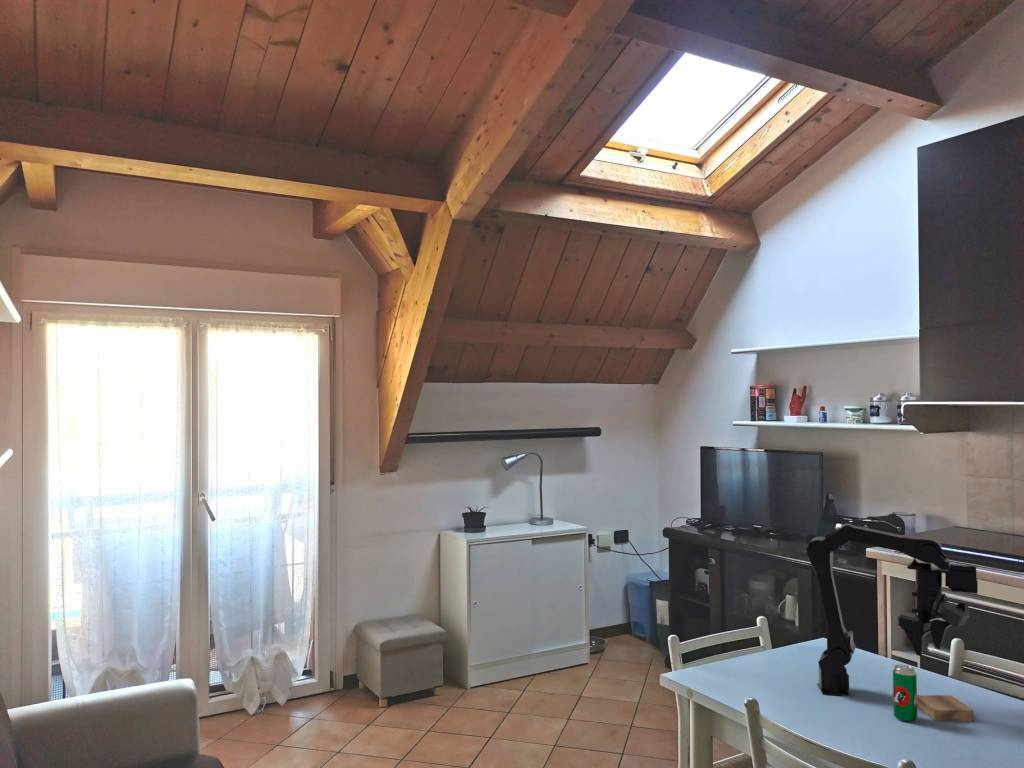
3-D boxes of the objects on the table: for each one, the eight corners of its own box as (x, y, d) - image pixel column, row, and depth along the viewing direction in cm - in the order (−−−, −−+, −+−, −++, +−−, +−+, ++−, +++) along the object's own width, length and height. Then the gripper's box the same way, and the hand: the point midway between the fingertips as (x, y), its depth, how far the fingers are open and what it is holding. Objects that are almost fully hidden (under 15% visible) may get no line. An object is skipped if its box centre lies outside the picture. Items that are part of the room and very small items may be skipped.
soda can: (920, 723, 174) (919, 672, 174) (897, 722, 175) (896, 670, 175) (913, 715, 179) (912, 664, 179) (890, 713, 180) (889, 663, 180)
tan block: (935, 720, 176) (934, 710, 176) (915, 705, 185) (914, 695, 185) (973, 721, 175) (973, 710, 175) (951, 705, 184) (951, 695, 184)
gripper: (944, 601, 172) (944, 669, 172) (981, 590, 183) (981, 654, 182) (896, 591, 181) (896, 655, 181) (934, 580, 192) (934, 641, 192)
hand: (928, 652), depth 184 cm, fingers open, 9 cm apart
